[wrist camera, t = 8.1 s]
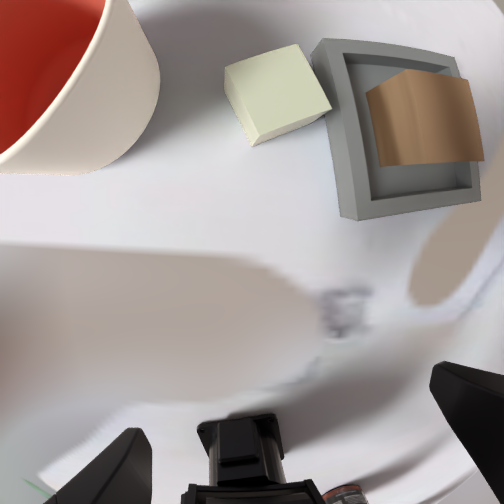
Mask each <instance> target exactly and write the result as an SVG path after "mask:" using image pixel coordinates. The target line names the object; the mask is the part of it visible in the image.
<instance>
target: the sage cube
mask: <svg viewBox="0 0 504 504" xmlns="http://www.w3.org/2000/svg"><path fill="white" fill-rule="evenodd" d="M224 92H225V94H226V96H227V98H228V100H229V102H230V104H231V106H232V108H233V110H234V112H235V114H236V116H237V118H238V120H239V122H240V124H241V126H242V128H243V130H244V132H245V135H246V137H247V139H248V141H249V143H250V145H251V147H253V146H255V145H258V144H260V143H262V142H265V141H267V140H270V139H272V138H275V137H277V136H280V135H282V134H285V133H287V132H290V131H292V130H295V129H297V128H300V127H303V126H305V125H308V124H310V123H312V122H313V121H315V120H316V119H318V118H319V117H321V116H322V115H323V114H325V113H326V112H328V111H329V110H331V109H332V108H331V106H330V104H329V101H328V99H327V97H326V95H325V93H324V91H323V89H322V88H321V86H320V84H319V82H318V80H317V78H316V76H315V74H314V72H313V70H312V69H311V67H310V65H309V63H308V61H307V60H306V58H305V56H304V54H303V53H302V51H301V49H300V47H299V46H298V44H294V45H290V46H287V47H283V48H279V49H276V50H273V51H269V52H266V53H263V54H260V55H257V56H254V57H251V58H248V59H245V60H242V61H239V62H236V63H233V64H231V65H228V66H225V77H224Z"/></svg>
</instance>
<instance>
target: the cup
mask: <svg viewBox="0 0 504 504" xmlns="http://www.w3.org/2000/svg"><path fill="white" fill-rule="evenodd" d="M159 90H160V71H159V65H158V62H157V59H156V56H155V54H154V52H153V50H152V48H151V46H150V44H149V42H148V40H147V38H146V36H145V34H144V32H143V30H142V28H141V26H140V24H139V22H138V20H137V18H136V16H135V14H134V12H133V10H132V8H131V6H130V4H129V2H128V0H0V174H45V175H81V174H86V173H90V172H93V171H96V170H98V169H100V168H103V167H105V166H107V165H108V164H110V163H112V162H113V161H115V160H116V159H117V158H119V157H120V156H122V155H123V154H124V153H125V152H126V151H127V150H128V149H129V148H130V147H131V146H132V145H133V144H134V143H135V142H136V141H137V139H138V138H139V137H140V135H141V134H142V133H143V131H144V130H145V128H146V126H147V125H148V123H149V121H150V119H151V117H152V115H153V112H154V110H155V107H156V104H157V100H158V96H159Z"/></svg>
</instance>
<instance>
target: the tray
mask: <svg viewBox="0 0 504 504" xmlns="http://www.w3.org/2000/svg"><path fill="white" fill-rule="evenodd" d="M311 58H312V62H313V66H314V70H315V75H316V78H317V80H318V82H319V84H320V86H321V88H322V89H323V91H324V93H325V95H326V97H327V99H328V101H329V104H330V106H331V108H332V109H331V110H329V111H328V112H326V113H325V114H324V116H325V121H326V126H327V131H328V137H329V142H330V148H331V154H332V160H333V166H334V172H335V179H336V186H337V193H338V201H339V208H340V216H341V217H344V218H348V219H352V220H355V221H362V220H367V219H373V218H379V217H385V216H391V215H397V214H403V213H409V212H415V211H421V210H427V209H433V208H439V207H445V206H452V205H458V204H464V203H471V202H477V201H481V192H480V179H479V169H478V161H467V162H444V163H427V164H412V165H398V166H386V167H380V166H379V159H378V153H377V147H376V142H375V136H374V131H373V126H372V121H371V116H370V111H369V107H368V102H367V98H366V94H365V93H366V92H367V91H369V90H371V89H372V88H374V87H376V86H378V85H379V84H381V83H383V82H385V81H386V80H388V79H390V78H392V77H393V76H395V75H397V74H399V73H401V72H402V71H404V70H406V69H411V70H418V71H425V72H431V73H437V74H442V75H448V76H453V77H457V78H461V77H460V74H459V70H458V67H457V64H456V61H455V58H454V57H451V56H447V55H443V54H439V53H435V52H431V51H426V50H421V49H416V48H411V47H405V46H399V45H393V44H386V43H378V42H370V41H360V40H347V39H329V38H323V39H322V40H321V41H320V43H319V44H318V45H317V47H316V48H315V49H314V51H313V52H312V54H311Z"/></svg>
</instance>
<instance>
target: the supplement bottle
mask: <svg viewBox="0 0 504 504" xmlns="http://www.w3.org/2000/svg"><path fill="white" fill-rule="evenodd" d="M322 498H323V499H324V501H325V503H326V504H369V503H368V501H367V499H366V497H365V495H364V493H363V491H362V489H361V488H360V487H359V486H356V485H348V486H342V487H339V488H337V489H334V490H332V491H330V492H328V493H326V494H325V495H323V496H322Z"/></svg>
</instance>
